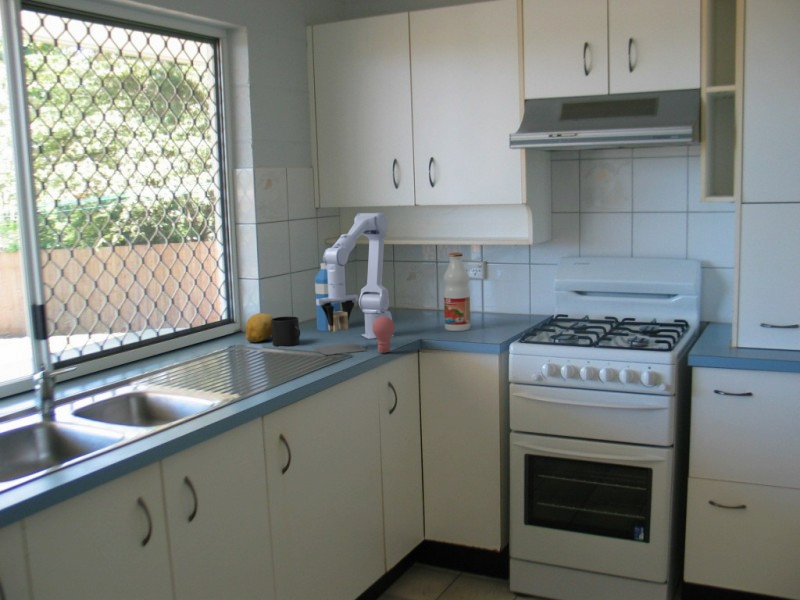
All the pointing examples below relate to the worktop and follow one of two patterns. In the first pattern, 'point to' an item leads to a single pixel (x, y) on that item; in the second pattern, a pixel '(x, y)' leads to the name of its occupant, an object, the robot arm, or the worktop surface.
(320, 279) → the water bottle
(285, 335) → the mug
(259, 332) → the potato
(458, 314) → the fruit juice
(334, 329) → the stool
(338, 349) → the mat
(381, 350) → the light bulb
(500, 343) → the worktop surface
